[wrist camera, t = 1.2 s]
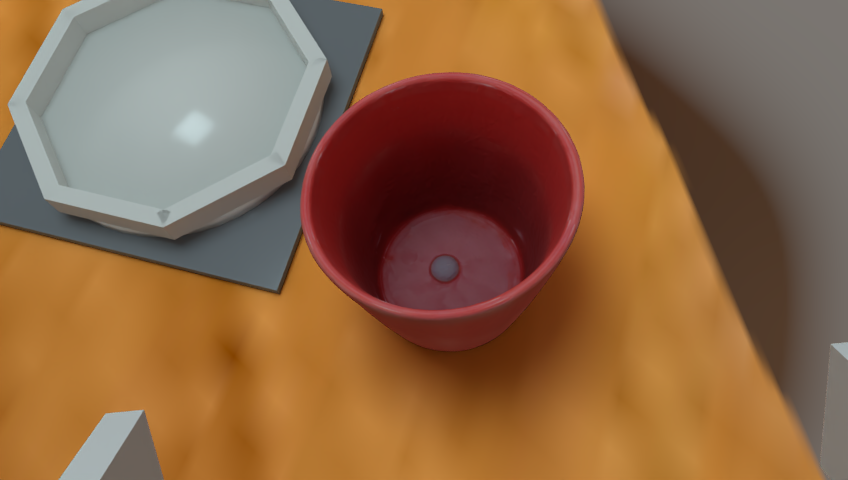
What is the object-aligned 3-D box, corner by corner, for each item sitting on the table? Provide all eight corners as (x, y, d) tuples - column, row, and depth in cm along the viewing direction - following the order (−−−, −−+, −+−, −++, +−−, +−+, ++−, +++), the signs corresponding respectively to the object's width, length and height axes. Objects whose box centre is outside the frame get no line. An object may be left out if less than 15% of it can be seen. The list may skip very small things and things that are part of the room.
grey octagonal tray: (-30, 217, 40) (-65, 193, 38) (111, -34, 47) (90, -69, 45) (279, 294, 37) (264, 273, 35) (382, 14, 44) (377, -20, 42)
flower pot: (323, 208, 39) (278, 103, 30) (526, 161, 40) (539, 43, 31) (361, 406, 35) (321, 350, 26) (588, 351, 35) (625, 277, 26)
